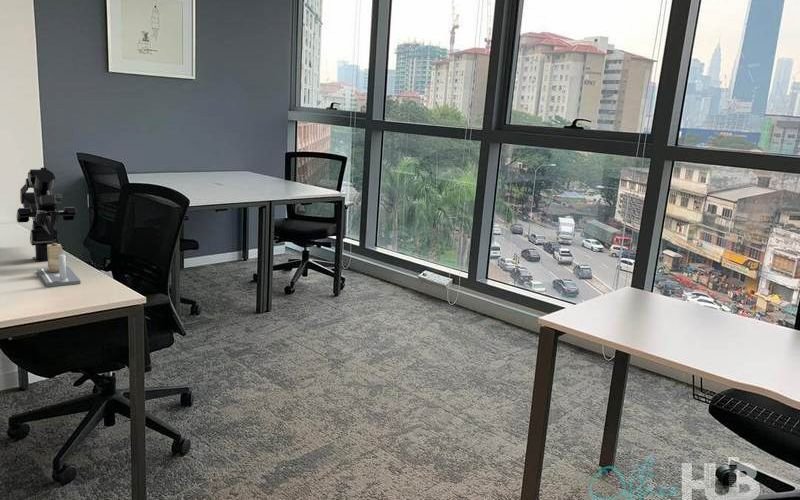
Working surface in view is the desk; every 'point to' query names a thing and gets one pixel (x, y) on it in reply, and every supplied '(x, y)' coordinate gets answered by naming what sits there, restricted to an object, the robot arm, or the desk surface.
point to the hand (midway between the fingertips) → (51, 234)
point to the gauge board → (54, 279)
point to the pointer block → (54, 256)
